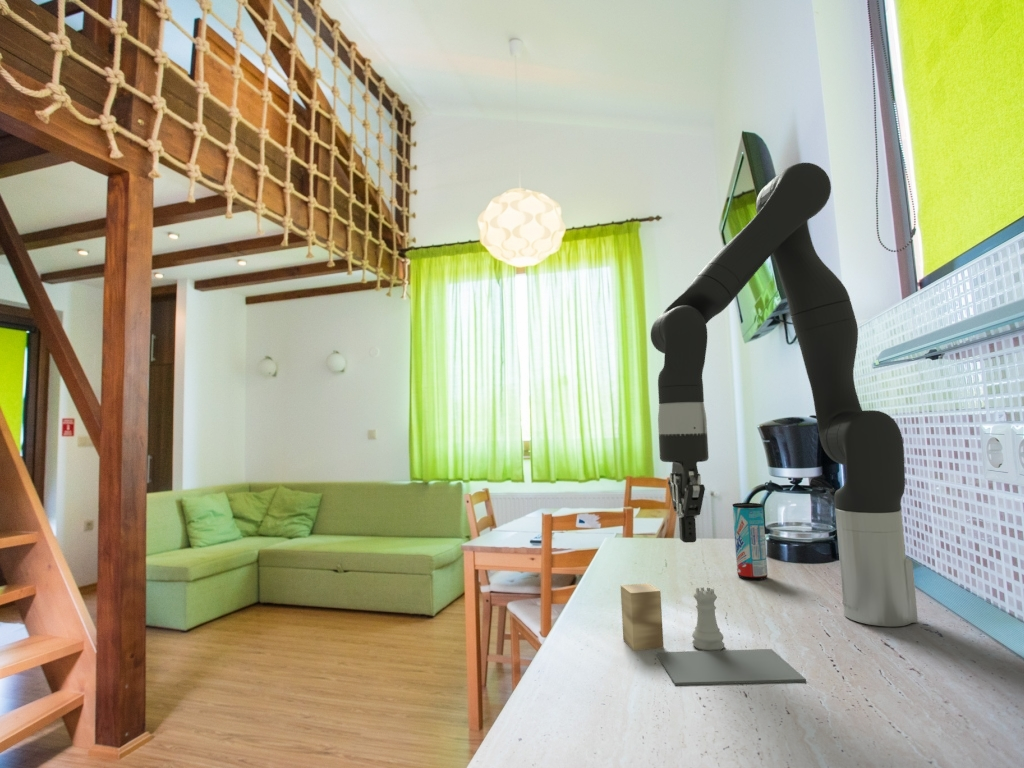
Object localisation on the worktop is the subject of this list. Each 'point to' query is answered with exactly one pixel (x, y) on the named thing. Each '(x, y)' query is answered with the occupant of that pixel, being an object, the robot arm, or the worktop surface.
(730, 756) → the worktop surface
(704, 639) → the rook chess piece
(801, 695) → the worktop surface
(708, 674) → the mat
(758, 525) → the beverage can
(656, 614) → the oak block
